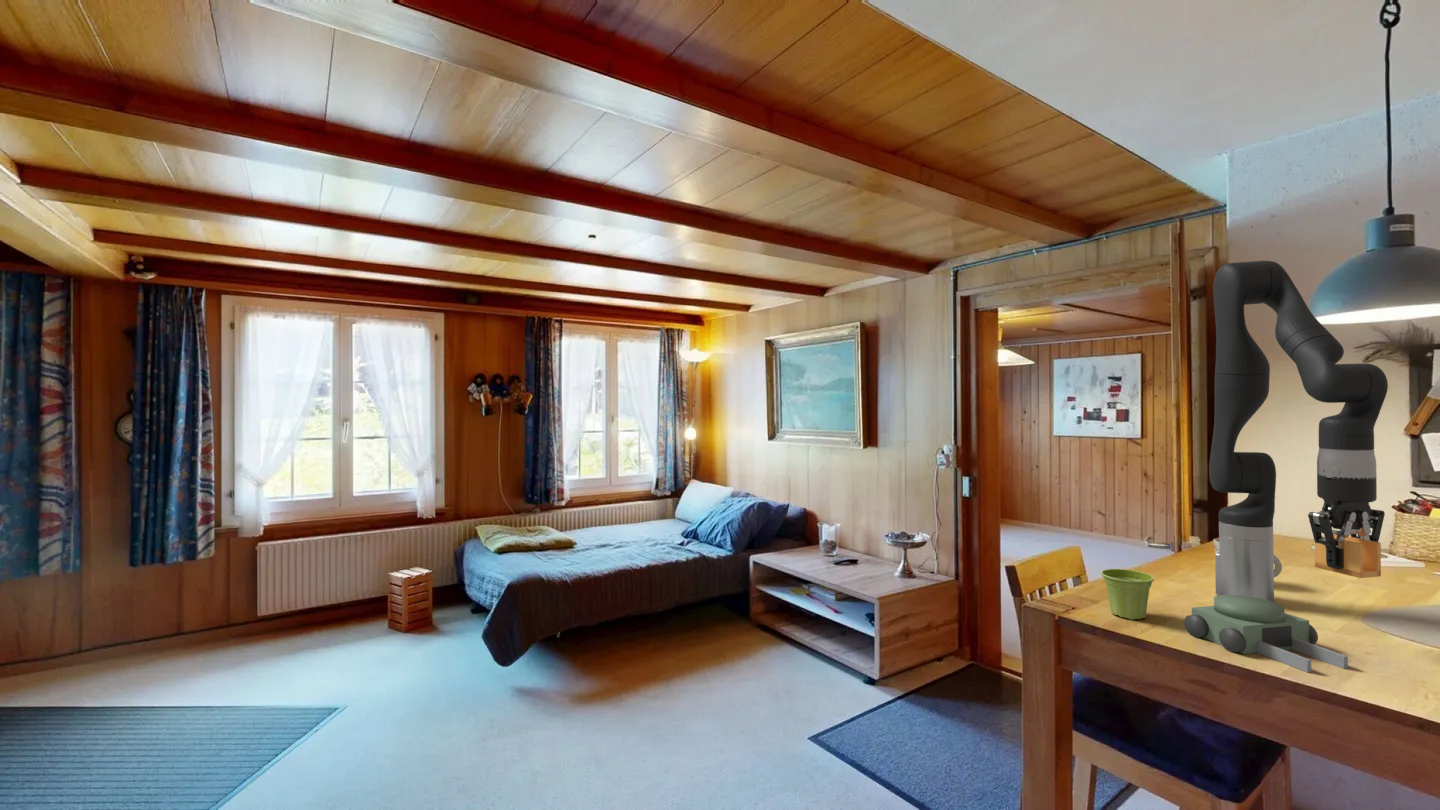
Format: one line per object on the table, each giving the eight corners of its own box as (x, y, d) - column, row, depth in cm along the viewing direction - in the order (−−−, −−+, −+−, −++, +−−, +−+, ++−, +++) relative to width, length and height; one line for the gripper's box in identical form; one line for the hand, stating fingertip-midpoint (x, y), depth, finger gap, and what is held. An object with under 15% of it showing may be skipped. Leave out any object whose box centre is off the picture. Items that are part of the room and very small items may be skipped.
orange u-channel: (1315, 567, 113) (1314, 535, 113) (1335, 565, 114) (1334, 533, 114) (1359, 578, 106) (1359, 544, 106) (1380, 576, 107) (1380, 542, 107)
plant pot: (1107, 620, 125) (1107, 578, 125) (1096, 606, 134) (1096, 566, 134) (1161, 625, 122) (1160, 582, 122) (1146, 610, 131) (1145, 570, 131)
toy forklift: (1184, 632, 118) (1183, 596, 118) (1255, 626, 120) (1255, 591, 120) (1286, 674, 100) (1285, 632, 100) (1368, 666, 102) (1367, 624, 102)
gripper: (1353, 469, 115) (1354, 559, 115) (1290, 472, 112) (1291, 564, 113) (1404, 474, 107) (1404, 570, 107) (1337, 478, 105) (1338, 575, 105)
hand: (1346, 566), depth 110 cm, fingers closed on orange u-channel, 4 cm apart
